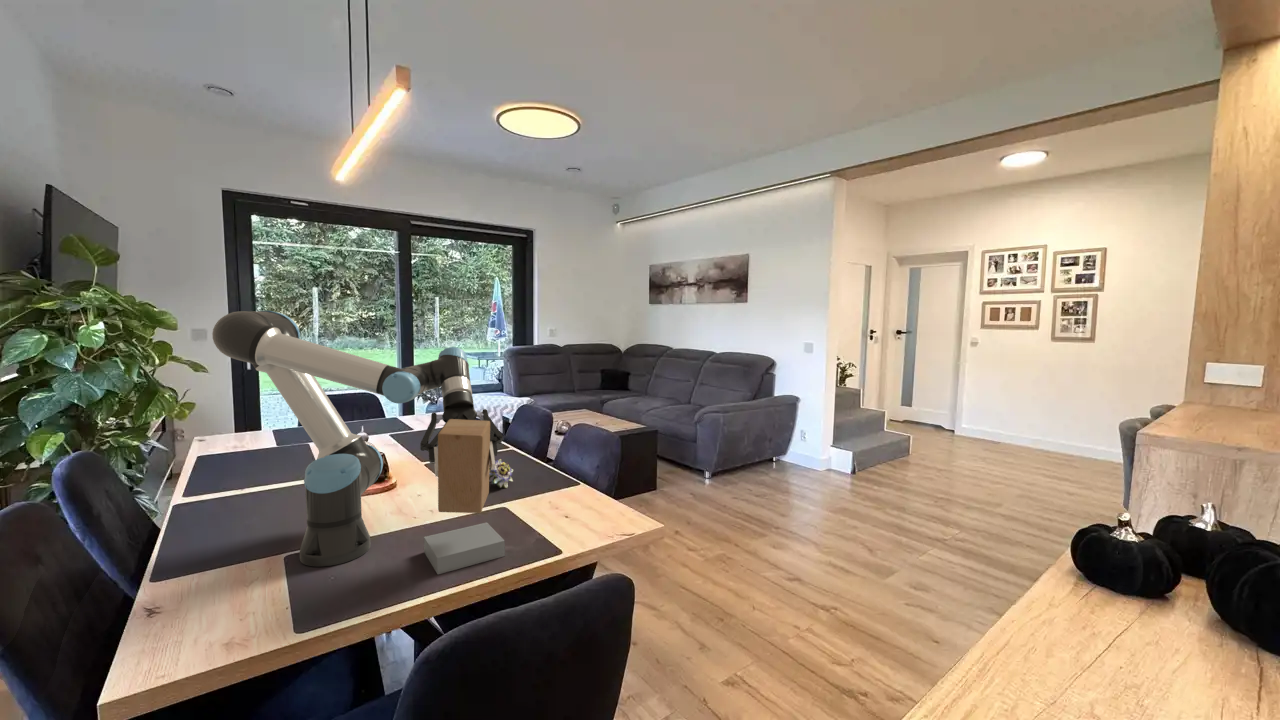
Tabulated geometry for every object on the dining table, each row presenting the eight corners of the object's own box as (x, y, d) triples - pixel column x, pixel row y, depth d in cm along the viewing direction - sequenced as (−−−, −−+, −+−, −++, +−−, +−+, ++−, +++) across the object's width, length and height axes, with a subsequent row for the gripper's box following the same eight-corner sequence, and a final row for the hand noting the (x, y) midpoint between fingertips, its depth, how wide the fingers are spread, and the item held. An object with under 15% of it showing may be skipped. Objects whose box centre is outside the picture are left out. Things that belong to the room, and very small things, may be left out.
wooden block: (481, 514, 120) (482, 435, 116) (437, 512, 119) (437, 433, 114) (489, 493, 130) (490, 420, 125) (448, 492, 129) (449, 418, 124)
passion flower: (505, 502, 174) (499, 482, 166) (477, 494, 176) (470, 473, 168) (520, 477, 182) (516, 456, 174) (493, 468, 184) (488, 448, 176)
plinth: (437, 574, 116) (437, 558, 116) (424, 552, 127) (423, 536, 126) (504, 556, 126) (504, 540, 125) (487, 536, 136) (486, 522, 136)
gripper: (502, 402, 142) (514, 471, 130) (407, 409, 131) (410, 484, 119) (506, 387, 137) (518, 456, 124) (407, 392, 126) (410, 469, 114)
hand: (465, 470), depth 122 cm, fingers closed on wooden block, 12 cm apart
